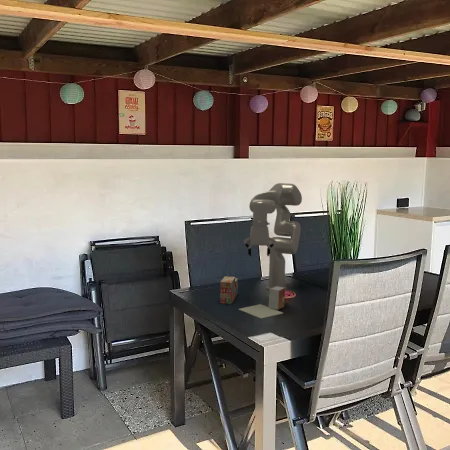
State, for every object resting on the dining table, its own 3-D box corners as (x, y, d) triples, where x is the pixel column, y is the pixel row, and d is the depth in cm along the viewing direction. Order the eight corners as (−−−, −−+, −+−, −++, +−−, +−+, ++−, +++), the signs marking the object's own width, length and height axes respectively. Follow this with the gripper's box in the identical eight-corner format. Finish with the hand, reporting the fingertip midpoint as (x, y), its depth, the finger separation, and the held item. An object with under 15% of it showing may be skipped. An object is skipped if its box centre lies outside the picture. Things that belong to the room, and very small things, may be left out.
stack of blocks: (227, 293, 293) (227, 272, 291) (237, 293, 292) (238, 273, 290) (219, 303, 272) (220, 281, 270) (231, 304, 271) (231, 282, 269)
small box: (277, 310, 261) (279, 290, 259) (268, 308, 263) (269, 288, 262) (284, 306, 267) (285, 287, 266) (275, 305, 270) (276, 285, 269)
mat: (260, 304, 270) (260, 304, 270) (283, 313, 256) (283, 312, 256) (238, 309, 261) (238, 308, 261) (261, 318, 247) (261, 318, 247)
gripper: (275, 223, 271) (274, 254, 273) (243, 223, 270) (242, 254, 273) (277, 225, 264) (276, 257, 266) (244, 225, 263) (243, 257, 265)
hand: (259, 255), depth 269 cm, fingers open, 9 cm apart
